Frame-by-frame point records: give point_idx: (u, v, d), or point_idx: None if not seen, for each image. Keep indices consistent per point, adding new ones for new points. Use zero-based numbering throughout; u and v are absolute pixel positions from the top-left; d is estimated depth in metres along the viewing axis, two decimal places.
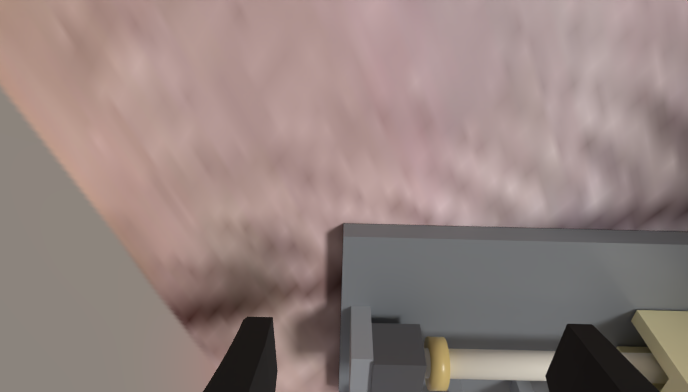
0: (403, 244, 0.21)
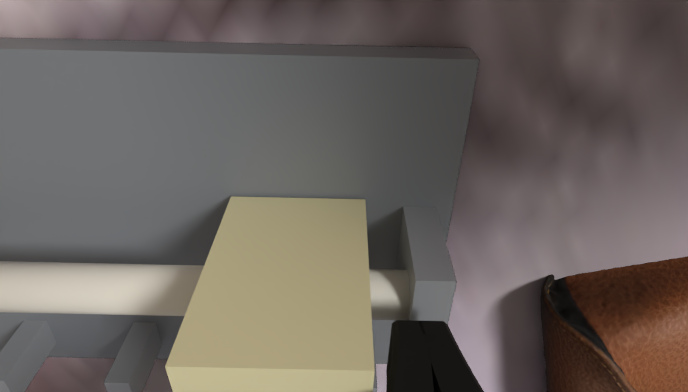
0: None
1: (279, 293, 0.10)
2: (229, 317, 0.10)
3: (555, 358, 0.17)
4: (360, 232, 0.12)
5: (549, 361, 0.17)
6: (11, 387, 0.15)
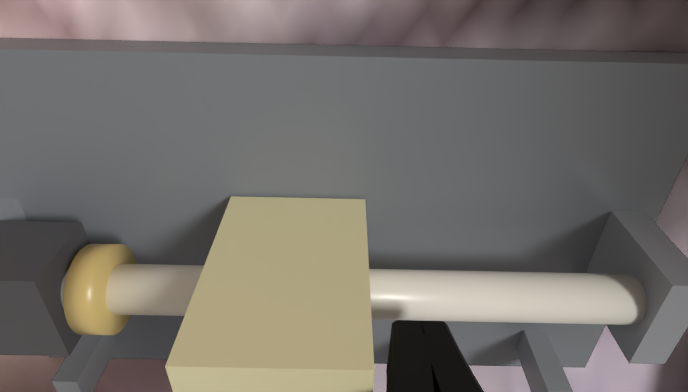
0: (8, 64, 0.12)
1: (278, 292, 0.10)
2: (229, 316, 0.10)
3: None
4: (360, 232, 0.12)
5: None
6: None
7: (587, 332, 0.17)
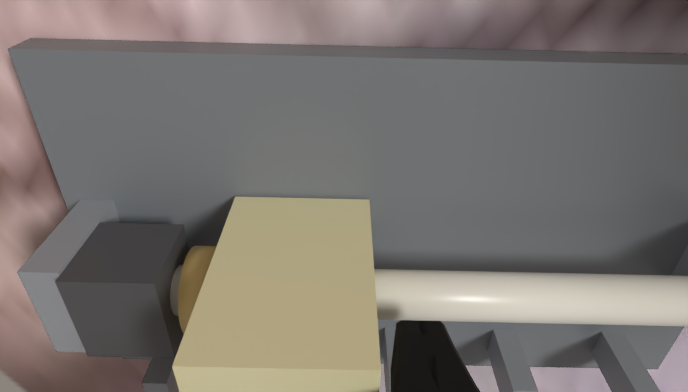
0: (123, 67, 0.12)
1: (284, 293, 0.10)
2: (236, 317, 0.10)
3: None
4: (365, 231, 0.12)
5: None
6: None
7: (664, 334, 0.17)
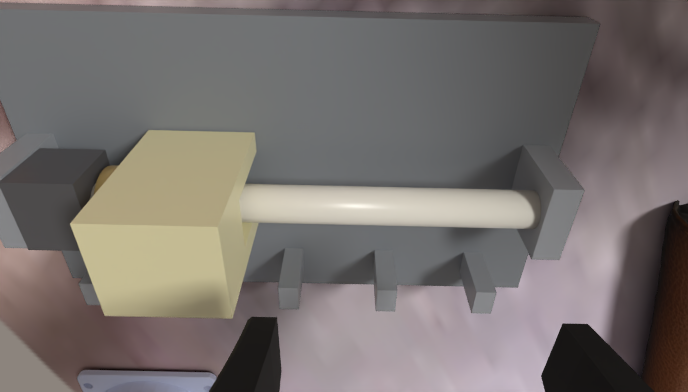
0: (52, 22, 0.15)
1: (165, 186, 0.14)
2: (124, 198, 0.14)
3: (679, 268, 0.20)
4: (241, 152, 0.16)
5: (670, 274, 0.21)
6: None
7: (516, 254, 0.21)
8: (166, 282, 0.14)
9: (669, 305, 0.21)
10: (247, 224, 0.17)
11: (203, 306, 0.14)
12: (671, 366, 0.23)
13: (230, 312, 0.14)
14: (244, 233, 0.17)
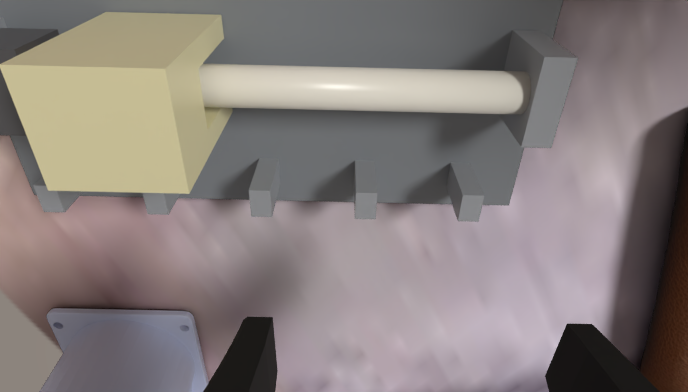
0: None
1: (113, 44, 0.13)
2: (65, 50, 0.12)
3: None
4: (204, 25, 0.15)
5: None
6: (165, 198, 0.18)
7: (506, 165, 0.19)
8: (112, 145, 0.12)
9: None
10: (213, 113, 0.16)
11: (156, 177, 0.13)
12: None
13: (186, 185, 0.13)
14: (208, 119, 0.15)
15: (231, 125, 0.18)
